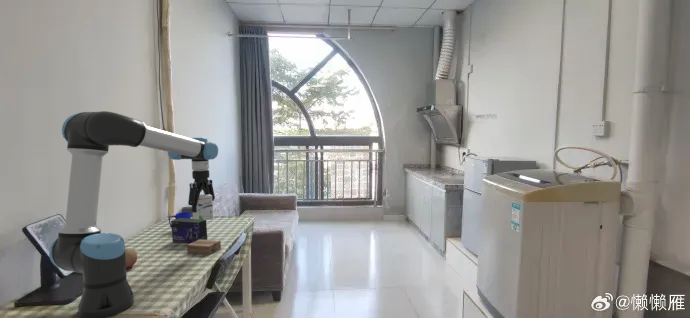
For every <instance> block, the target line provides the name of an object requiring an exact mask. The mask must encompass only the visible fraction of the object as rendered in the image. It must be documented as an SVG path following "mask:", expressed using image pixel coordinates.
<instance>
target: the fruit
mask: <svg viewBox="0 0 690 318" xmlns="http://www.w3.org/2000/svg"><path fill="white" fill-rule="evenodd" d="M125 258H126V269H129V268H131V267H133V266H134V265H135V264H136V263H137V260H138V254H137V252H136V250H135V249H133V248H131V247H127V248H126V249H125Z"/></svg>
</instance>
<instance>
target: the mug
mask: <svg viewBox="0 0 690 318" xmlns="http://www.w3.org/2000/svg"><path fill="white" fill-rule="evenodd" d="M171 218H175V219H178V218H189V219H192V213H191V212H189V211H183V212H177V213H175V215H169V216H168V224H169V226H170V229H172V226H171Z"/></svg>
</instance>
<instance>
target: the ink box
mask: <svg viewBox="0 0 690 318" xmlns="http://www.w3.org/2000/svg"><path fill="white" fill-rule="evenodd" d="M197 205H198V207H199V219H193V218H192V219H193V221H195V222H197V221H204V220H206V221H211V220H214V211H213V210H214V209H213V208H214V207H213V201H212V195H210V194H204V193H203V194H200V196H199V199H198V203H197ZM191 212H192V211H191ZM191 214H193V212H192V213H191Z"/></svg>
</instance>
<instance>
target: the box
mask: <svg viewBox="0 0 690 318" xmlns="http://www.w3.org/2000/svg"><path fill="white" fill-rule="evenodd" d="M170 223H171V226H172V228H171V237H172V238H171V239H172V243H174V244H175V243H178V244H186V245H188V244H190V243H192V242H195V241H197V240H199V239H202V240H208V227H207V220H204V221H197V222H195V221H193V218H191V219H189V218H178V219H176V218H175V219H173V220H170Z"/></svg>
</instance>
